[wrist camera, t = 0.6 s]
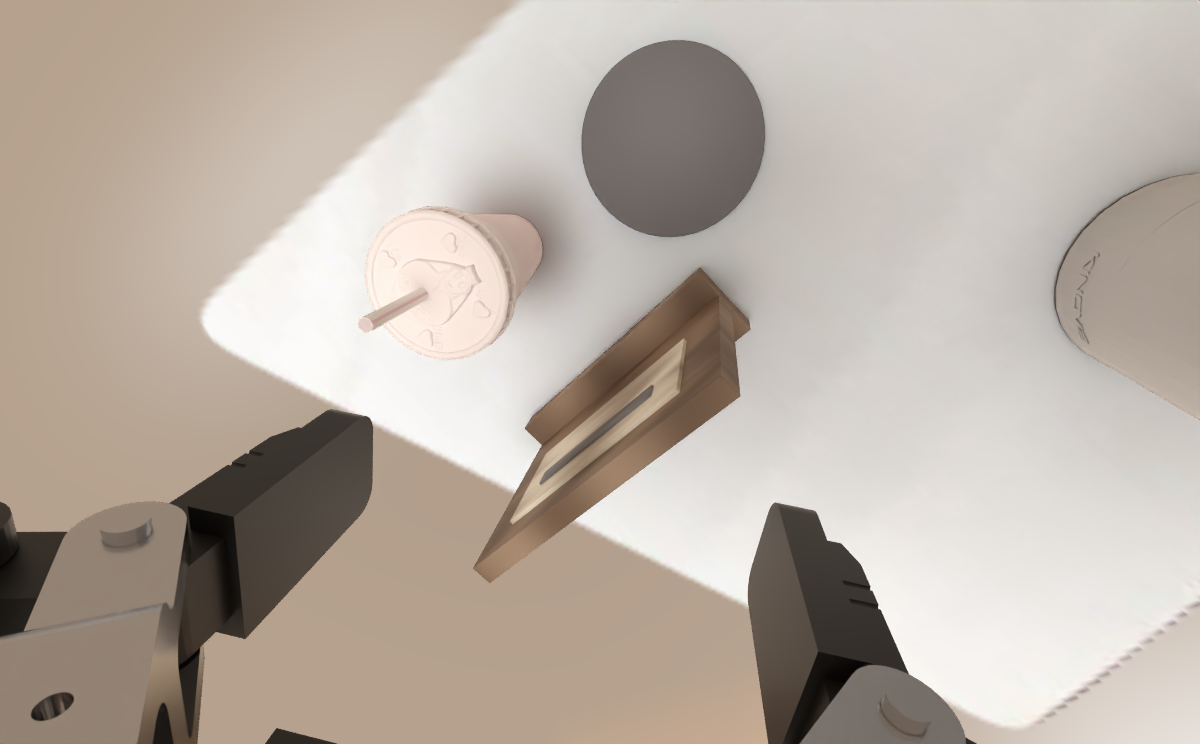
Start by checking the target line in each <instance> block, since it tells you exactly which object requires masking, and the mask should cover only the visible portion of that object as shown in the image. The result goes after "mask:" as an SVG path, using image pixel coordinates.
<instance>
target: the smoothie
mask: <svg viewBox="0 0 1200 744" xmlns="http://www.w3.org/2000/svg"><path fill="white" fill-rule="evenodd" d="M542 253H543V247H542V241H541V238H540V236H539V233H538V232H537V230H536V229H535V227H534V226H533V225H532V224H531V223H530V222H529V221H527V220H526V219H524V218H522V217H520V216H517V215H513V214H467V213H464V212H461V211H457V210H454V209H451V208H448V207H429V206H427V207H423V208H420V209H416V210H412V211H409V212H408V213H406V214H403V215H400V216H398V217H396V218H395V219H393V220H392V221H390V222H389V223H387V224H386V225H385V226H384V227H383V228H382V229H381V230H380V231H379V233H378V234H377V235H376V237H375V239H374V240H373V242H372V244H371V247H370V249H369V252H368V255H367V260H366V269H365V278H366V286H367V291H368V295H369V299H370V301H371V304H372V306H373V309H374V312H372V313H370V314H368V315H366V316H364V317H362V318H360V319H359V321H358V326H359V328H360V329H361V330H362V331H363V332H365V333H369V332H371V331H373V330H374V329H376V328H378V327H380V326H381V325H384V326H385V328H386V329H387V330H388V331H389V332H390V333H391V334H392V335H393V336H394V337H395V338H396V339H397V340H398V341H399V342H401V343H402V344H403V345H405V346H406V347H408V348H409V349H411V350H413V351H415V352H417V353H419V354H422V355H424V356H427V357H431V358H435V359H442V360H454V359H461V358H465V357H469V356H471V355H474V354H476V353H478V352H480V351H481V350H483V349H484V348H485V347H487V346H488V345H490V344H492V343H493V342H494V341H495V340H496V339H497V338H498V337H499V336H500V335H501V334H502V333H503V332H504V331H505V329H506V327H507V325H508V324H509V322H510V320H511V318H512V316H513V312H514V307H515V303H516V300H517V298H518V296H519V295H520V293H521V292H522V290H523V289H524V287H525V286H526V284H527V283H528V281H529V280H530V278H531V277H532V275H533V274H534V272H535V271H536V269H537V268H538V266H539V264H540V262H541V259H542Z"/></svg>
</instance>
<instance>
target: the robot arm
mask: <svg viewBox="0 0 1200 744" xmlns="http://www.w3.org/2000/svg"><path fill="white" fill-rule="evenodd" d="M1056 310H1057V313H1058V316H1059V320H1060V323H1061V326H1062V327H1063V329H1064V330H1065V332H1066V334H1067V335H1068V337H1069V338H1070V340H1071V341H1072V342H1073V343H1074V344H1076V345H1077V346H1078V347H1079V348H1080V349H1081V350H1083V351H1084V352H1085V353H1087V354H1088V355H1090V356H1092V357H1093V358H1095V359H1097V360H1099V361H1100V362H1102V363H1104V364H1105V365H1107V366H1109V367H1111V368H1112V369H1114V370H1116V371H1117V372H1119V373H1121V374H1123V375H1124V376H1126V377H1128V378H1129V379H1131V380H1133V381H1135V382H1136V383H1137V384H1139V385H1141V386H1142V387H1144V388H1146V389H1147V390H1149V391H1151V392H1153V393H1154V394H1156V395H1158V396H1159V397H1161V398H1163V399H1165V400H1166V401H1168V402H1170V403H1171V404H1173V405H1175V406H1177V407H1178V408H1180V409H1182V410H1183V411H1185V412H1187V413H1189V414H1190V415H1192V416H1194V417H1195V418H1197V419H1199V420H1200V173H1196V174H1189V175H1182V176H1175V177H1171V178H1168V179H1165V180H1162V181H1159V182H1156V183H1153V184H1150V185H1147V186H1145V187H1143V188H1141V189H1139V190H1137V191H1135V192H1133V193H1131V194H1129V195H1127V196H1125V197H1123V198H1122V199H1120V200H1119V201H1117V202H1116V203H1115V204H1113V205H1112V206H1110V207H1109V208H1108V209H1106V210H1105V211H1103V212H1102V213H1101V214H1100V215H1099V216H1098V217H1097V218H1096V219H1095V220H1094V221H1093V222H1092V223H1091V224H1090V225H1089V226H1088V227H1087V228H1086V229H1085V230H1084V231H1083V232H1082V233H1081V234H1080V236H1079V237H1078V239H1077V240H1076V241H1075V243H1074V244H1073V246H1072V247H1071V248H1070V250H1069V252H1068V254H1067V256H1066V258H1065V260H1064V263H1063V265H1062V267H1061V269H1060V272H1059V277H1058V281H1057V286H1056ZM372 459H373V426H372V422H371V420H370V418H369V417H367V416H362V415H357V414H352V413H347V412H343V411H338V410H333V409H330V410H328V411H326V412H324V413H323V414H321V415H320V416H318V417H317V418H315V419H314V420H312V421H311V422H310V423H308V424H307V425H305V426H304V427H302V428H295V429H292V430H289V431H286V432H283V433H281V434H278V435H275V436H272V437H270V438H268V439H267V440H265V441H264V442H262V443H261V444H259V445H257V446H256V447H254V448H253V449H251V450H250V452H249V454H246V453H245V454H244V455H242V456H241V457H239V458H238V459H236V460H235V461H233V462H232V465H231V466H230V465H227V466H225V467H224V468H222V469H221V470H219V471H218V472H216V473H215V474H213V475H212V476H210V477H209V478H207V479H206V480H204V481H203V482H201V483H199V484H198V485H196V486H195V487H193V488H192V489H190V490H189V491H187V492H186V493H184V494H183V495H181V496H180V497H178V498H177V499H175V500H174V501H172V502H171V503H164V502H137V503H130V504H124V505H121V506H116V507H113V508H109V509H106V510H103V511H101V512H99V513H96V514H94V515H92V516H90V517H88V518H86V519H84V520H82V521H81V522H79V523H78V524H76V525H75V526H74V527H73V528H71V529H70V530H69V531H68V532H16V528H15V525H14V521H13V517H12V513H11V511H10V508H9V507H8V506H7V505H6V504H4V503H1V502H0V744H197V743H198V731H199V720H200V708H201V696H202V684H203V672H204V659H205V657H204V647H203V644H204V643H205V642H206V641H207V640H208V639H209V638H210V637H211V636H212V635H213V634H214V633H215V632H219V633H223V634H227V635H231V636H235V637H239V638H243V639H246V638H247V637H248V636H249V634H250V633H251V632H252V631H253V630H254V629H255V628H256V627H257V626H258V625H259V624H260V623H261V622H262V620H263V619H264V618H265V617H266V616H267V615H268V614H269V613H270V612H271V611H272V610H273V609H274V608H275V606H276V605H277V604H278V603H279V602H280V601H281V600H282V599H283V598H284V597H285V596H286V595H287V594H288V592H289V591H290V590H291V589H292V588H293V587H294V586H295V585H296V584H297V583H298V582H299V581H300V580H301V578H302V577H303V576H304V575H305V574H306V573H307V572H308V571H309V570H310V569H311V568H312V566H314V564H315V563H316V562H317V561H318V560H319V559H320V558H321V557H322V556H323V555H324V554H325V553H326V551H327V550H328V549H329V548H330V547H331V546H332V545H333V544H334V543H335V542H336V541H337V540H338V539H339V538H340V536H341V535H342V534H343V533H344V532H345V531H346V530H347V529H348V528H349V527H350V526H351V525H352V524H353V522H354V521H355V520H356V519H357V518H358V517H359V516H360V515H361V514H362V512H363V511H364V509H365V507H366V505H367V503H368V500H369V498H370V494H371V490H372V467H373V465H372V464H373V461H372ZM748 605H749V612H750V618H751V625H752V632H753V639H754V646H755V653H756V660H757V667H758V674H759V681H760V688H761V694H762V702H763V709H764V716H765V723H766V729H767V737H768V744H976V743H974V742H973V741H971V740H969V739H967V738H966V737H965V734H964V731H963V728H962V726H961V724H960V721H959V720H958V718H957V717H956V715H955V713H954V712H953V711H952V709H951V708H950V707H949V706H948V704H947V703H946V702H945V701H944V700H943V699H942V698H941V697H940V696H939V695H938V694H937V693H935V692H934V691H933V690H932V689H931V688H929V687H928V686H927V685H925V684H924V683H923V682H921V681H919V680H918V679H916V678H914V677H913V676H911V675H909V673H908V671H907V669H906V667H905V664H904V662H903V660H902V658H901V655H900V653H899V651H898V648H897V646H896V644H895V642H894V639H893V637H892V635H891V632H890V630H889V628H888V626H887V623H886V621H885V619H884V616H883V614H882V612H881V610H879V609H878V603H877V601H876V598H875V596H874V594H873V591H870V585H869V582H868V580H867V578H866V575H865V573H864V571H863V569H862V566H861V564H860V563H859V562H858V561H857V560H856V559H855V558H854V557H853V556H852V555H851V554H850V553H849V552H848V550H847V549H846V548H845V547H844V546H843V545H842V544H841V543H836V542H831V541H827V539H826V536H825V533H824V531H823V528H822V525H821V523H820V520H819V517H818V515H817V513H816V512H815V511H813V510H808V509H804V508H799V507H794V506H789V505H784V504H780V503H774V504H773V505H772V506H771V508H770V510H769V513H768V516H767V519H766V522H765V525H764V529H763V532H762V535H761V538H760V542H759V545H758V548H757V551H756V555H755V558H754V561H753V564H752V568H751V572H750V577H749V584H748ZM265 744H336V743H332V742H328V741H324V740H321V739H317V738H313V737H309V736H305V735H301V734H297V733H293V732H289V731H285V730H282V729H278V728H277V729H276V730H275V731H274V732H273V734H272V735H271V736H270V738H269V739H268V741H267V742H266V743H265Z"/></svg>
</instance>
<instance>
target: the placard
mask: <svg viewBox="0 0 1200 744" xmlns="http://www.w3.org/2000/svg"><path fill="white" fill-rule="evenodd" d="M749 330H750V324H749V321H748V319H747V318H746V317H745V316H744V315H743V314H742V313H741V312H740V311H739V310H738V309H737V307H736V306H735V305H734V304H733V303H732V302H731V301H730V300H729V299H728V298H727V297H726V295H725V294H724V293H723V292H722V291H721V290H720V289H719V288H718V287H717V286H716V285H715V284H714V282H713V281H712V280H711V279H710V278H709V277H708V276H707V275H706V274H705V273H704V272H703V270H702V269H701V268H699V269H698V270H697V271H696V272H695V273H694V274H693V275H691V276H690V277H689V278H688V279H687V280H686V281H685V282H684V283H682V284H681V285H680V286H679V287H678V288H677V289H676V290H675V291H673V292H672V293H671V294H670V295H669V296H668V297H667V298H666V299H664V300H663V301H662V302H661V303H660V304H659V305H658V306H657V307H655V308H654V309H653V310H652V311H651V312H650V313H649V314H648V315H646V316H645V317H644V318H643V319H642V320H641V321H640V322H639V323H637V324H636V325H635V326H634V327H633V328H632V329H631V330H630V331H628V332H627V333H626V334H625V335H624V336H623V337H622V338H621V339H619V340H618V341H617V342H616V343H615V344H614V345H613V346H612V347H610V348H609V349H608V350H607V351H606V352H605V353H604V354H603V355H601V356H600V357H599V358H598V359H597V360H596V361H595V362H594V363H592V364H591V365H590V366H589V367H588V368H587V369H586V370H584V371H583V372H582V373H581V374H580V375H579V376H578V377H577V378H575V379H574V380H573V381H572V382H571V383H570V384H569V385H568V386H566V387H565V388H564V389H563V390H562V391H561V392H560V393H559V394H557V395H556V396H555V397H554V398H553V399H552V400H551V401H550V402H548V403H547V404H546V405H545V406H544V407H543V408H542V409H541V410H539V411H538V412H537V413H536V414H535V415H534V416H533V417H532V418H531V419H530V421H529V422H528V424H527V425H526V427H525V429H526V430H527V431H528V432H529V433H530V434H531V435H532V436H533V437H534V438H535V439H536V440H537V441H538V442H539V443H540V444H541V445H542V446H541V448H540V450H539V452H538V453H537V455H536V457H535V459H534V460H533V462H532V464H531V466H530V468H529V469H528V471H527V473H526V475H525V477H524V478H523V480H522V482H521V484H520V486H519V487H518V489H517V491H516V493H515V494H514V496H513V498H512V500H511V502H510V504H509V505H508V507H507V509H506V511H505V512H504V514H503V516H502V518H501V520H500V521H499V523H498V525H497V527H496V528H495V530H494V532H493V534H492V536H491V537H490V539H489V541H488V543H487V544H486V546H485V548H484V550H483V552H482V553H481V555H480V557H479V559H478V561H477V562H476V564H475V566H474V568H473V569H474V570H475V571H477V572H478V573H479V574H480V575H481V576H482V577H483V578H485V579H486V580H487V581H488V582H489V583H490V582H492V581H493V580H494V579H496V578H497V577H499V576H500V575H501V574H502V573H504V572H505V571H507V570H508V569H509V568H511V567H512V566H513V565H514V564H516V563H517V562H519V561H520V560H521V559H522V558H524V557H525V556H527V555H528V554H529V553H530V552H532V551H533V550H535V549H536V548H537V547H539V546H540V545H541V544H543V543H544V542H545V541H547V540H548V539H549V538H551V537H552V536H553V535H555V534H556V533H558V532H559V531H560V530H562V529H563V528H564V527H566V526H567V525H568V524H569V523H571V522H572V521H574V520H575V519H576V518H578V517H579V516H580V515H582V514H583V513H584V512H586V511H587V510H588V509H590V508H591V507H592V506H594V505H595V504H596V503H598V502H599V501H600V500H602V499H603V498H604V497H606V496H607V495H609V494H610V493H611V492H613V491H614V490H615V489H617V488H618V487H619V486H621V485H622V484H623V483H625V482H626V481H627V480H629V479H630V478H631V477H633V476H634V475H635V474H637V473H638V472H639V471H641V470H642V469H643V468H645V467H646V466H647V465H649V464H650V463H651V462H653V461H654V460H655V459H657V458H658V457H659V456H661V455H662V454H663V453H665V452H666V451H667V450H669V449H670V448H672V447H673V446H674V445H676V444H677V443H678V442H680V441H681V440H682V439H684V438H685V437H686V436H688V435H689V434H690V433H692V432H693V431H694V430H696V429H697V428H698V427H700V426H701V425H702V424H704V423H705V422H706V421H708V420H709V419H710V418H712V417H713V416H714V415H716V414H717V413H718V412H720V411H721V410H722V409H724V408H725V407H726V406H728V405H729V404H730V403H732V402H733V401H735V400H736V399H737V398H739V397H740V389H739V379H738V368H737V358H736V348H735V341H737V340H738V339H739V338H740V337H742V336H743V335H744V334H745V333H747V332H748V331H749Z"/></svg>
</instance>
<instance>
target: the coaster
mask: <svg viewBox="0 0 1200 744" xmlns="http://www.w3.org/2000/svg"><path fill="white" fill-rule="evenodd" d="M764 141H765V125H764V119H763V112H762V109H761V105H760V101H759V99H758V96H757V94H756V92H755V89H754V87H753V86H752V84H751V82H750V81H749V79H748V77H747V76H746V75H745V74H744V72H743V71H742V70H741V69H740V68H739V66H738V65H736V64H735V63H734V62H733V61H732V60H731V59H730V58H729V57H727V56H725V55H724V54H722V53H721V52H719V51H718V50H716V49H713V48H711V47H709V46H707V45H703V44H700V43H697V42H691V41H684V40H672V41H664V42H658V43H654V44H651V45H648V46H645V47H643V48H641V49H639V50H637V51H634V52H633V53H631V54H630V55H628V56H627V57H625V58H624V59H622V60H621V61H620V62H619V63H617V64H616V65H615V66H614V67H613V68H612V69H611V70H610V71H609V72H608V74H607V75H606V76H605V77H604V78H603V80H602V81H601V83H600V84H599V86H598V87H597V88H596V90H595V92H594V94H593V96H592V98H591V100H590V103H589V106H588V108H587V111H586V114H585V119H584V123H583V129H582V157H583V163H584V167H585V171H586V175H587V177H588V180H589V183H590V185H591V187H592V189H593V191H594V193H595V195H596V196H597V198H598V199H599V200H600V202H601V203H602V205H603V206H604V207H605V208H606V209H607V210H608V211H609V212H610V213H611V214H612V215H613V216H614V217H615V218H617V219H618V220H619V221H620V222H622V223H624V224H625V225H627V226H628V227H630V228H633V229H635V230H637V231H639V232H642V233H646V234H649V235H654V236H661V237H676V236H684V235H688V234H693V233H696V232H699V231H701V230H704V229H706V228H708V227H710V226H712V225H714V224H716V223H717V222H719V221H720V220H721V219H723V218H724V217H726V216H727V215H728V214H729V213H730V212H731V211H732V210H733V209H735V207H736V206H737V205H738V204H739V203H740V202H741V201H742V199H743V198H744V196H745V195H746V194H747V192H748V191H749V189H750V187H751V185H752V183H753V182H754V180H755V178H756V175H757V172H758V170H759V167H760V164H761V160H762V155H763V150H764Z"/></svg>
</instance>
